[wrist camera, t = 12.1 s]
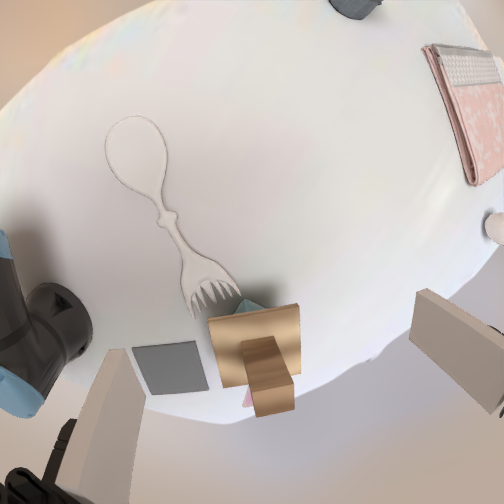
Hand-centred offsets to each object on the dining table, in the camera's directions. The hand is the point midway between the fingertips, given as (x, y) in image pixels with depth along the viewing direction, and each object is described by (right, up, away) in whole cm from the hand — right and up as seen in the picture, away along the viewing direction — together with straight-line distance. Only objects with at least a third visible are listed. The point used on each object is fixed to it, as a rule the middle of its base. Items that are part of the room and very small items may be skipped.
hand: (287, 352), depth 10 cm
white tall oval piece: (+60, +11, +40) cm, 73 cm away
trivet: (-17, -18, +35) cm, 43 cm away
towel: (+57, +41, +32) cm, 77 cm away
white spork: (-14, +10, +29) cm, 34 cm away
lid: (-1, -9, +26) cm, 28 cm away
